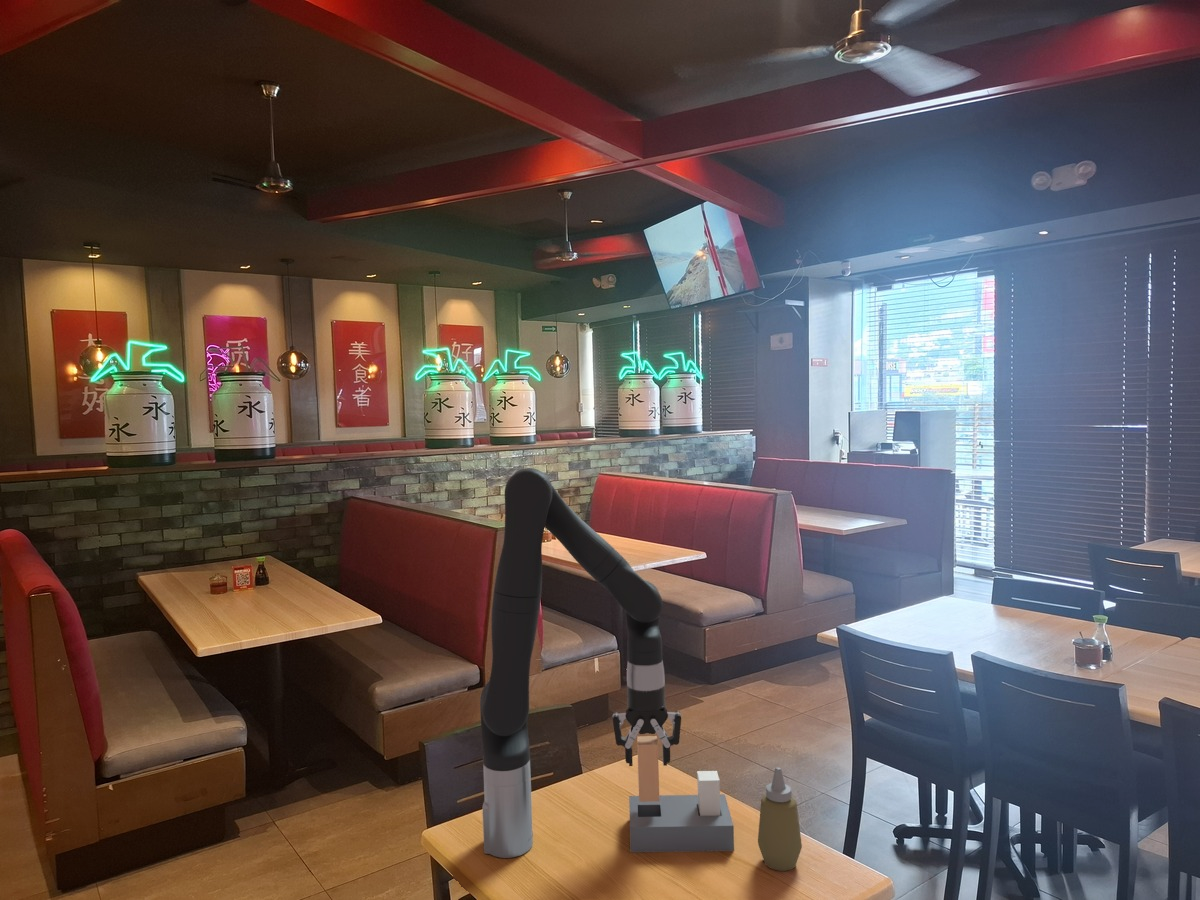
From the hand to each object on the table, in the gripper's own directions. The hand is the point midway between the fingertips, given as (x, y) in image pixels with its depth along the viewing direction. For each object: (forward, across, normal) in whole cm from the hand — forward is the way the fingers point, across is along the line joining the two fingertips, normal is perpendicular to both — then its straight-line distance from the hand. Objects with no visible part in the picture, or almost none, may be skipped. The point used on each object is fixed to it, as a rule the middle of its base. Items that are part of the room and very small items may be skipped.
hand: (648, 763), depth 152 cm
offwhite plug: (+15, +12, 0) cm, 19 cm away
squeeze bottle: (+15, +24, -10) cm, 30 cm away
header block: (+15, +6, 0) cm, 16 cm away
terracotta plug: (+7, 0, 0) cm, 7 cm away
